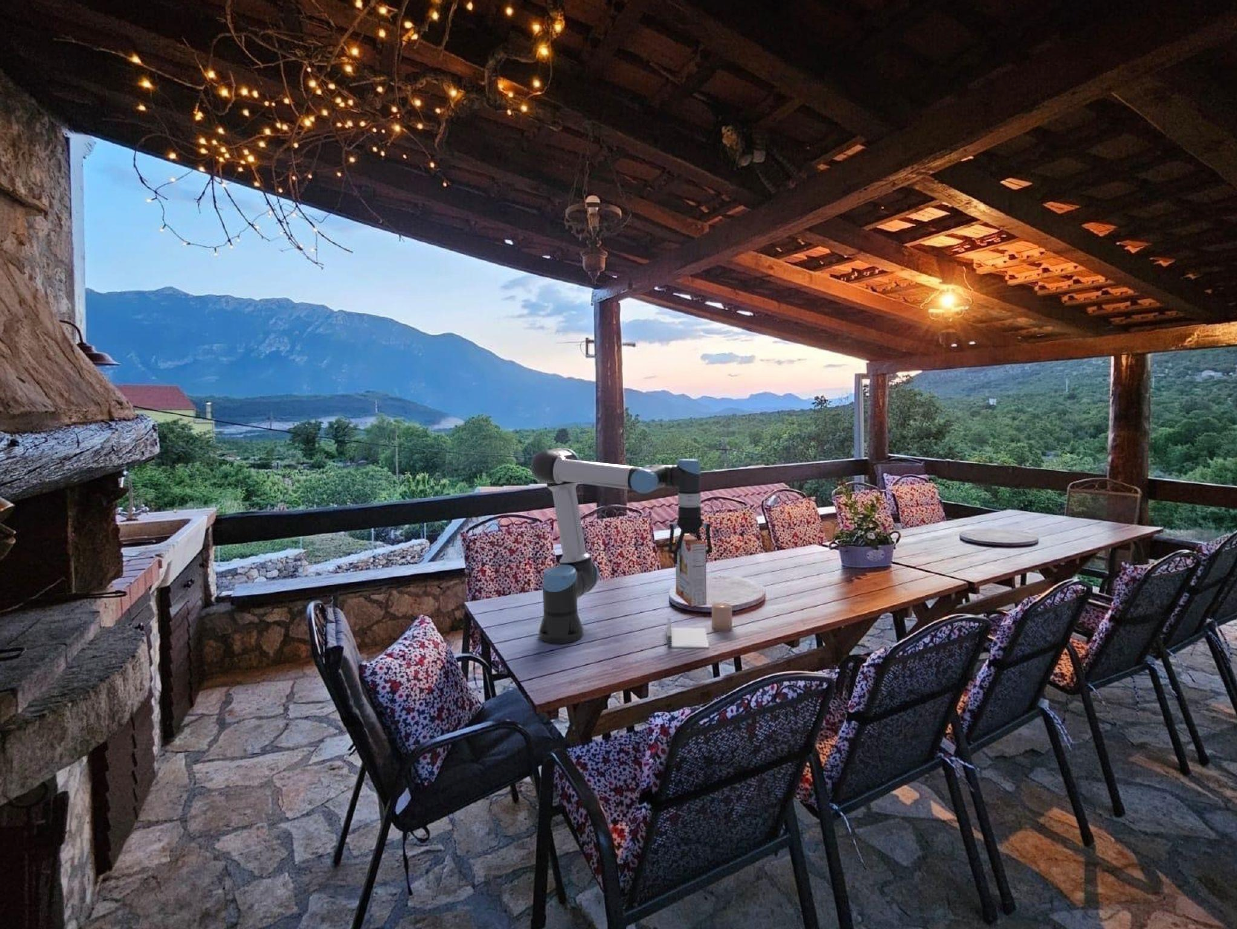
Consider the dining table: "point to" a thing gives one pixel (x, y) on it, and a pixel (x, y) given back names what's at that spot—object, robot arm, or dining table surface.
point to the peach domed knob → (721, 617)
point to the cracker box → (691, 571)
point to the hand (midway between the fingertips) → (690, 573)
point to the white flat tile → (686, 637)
